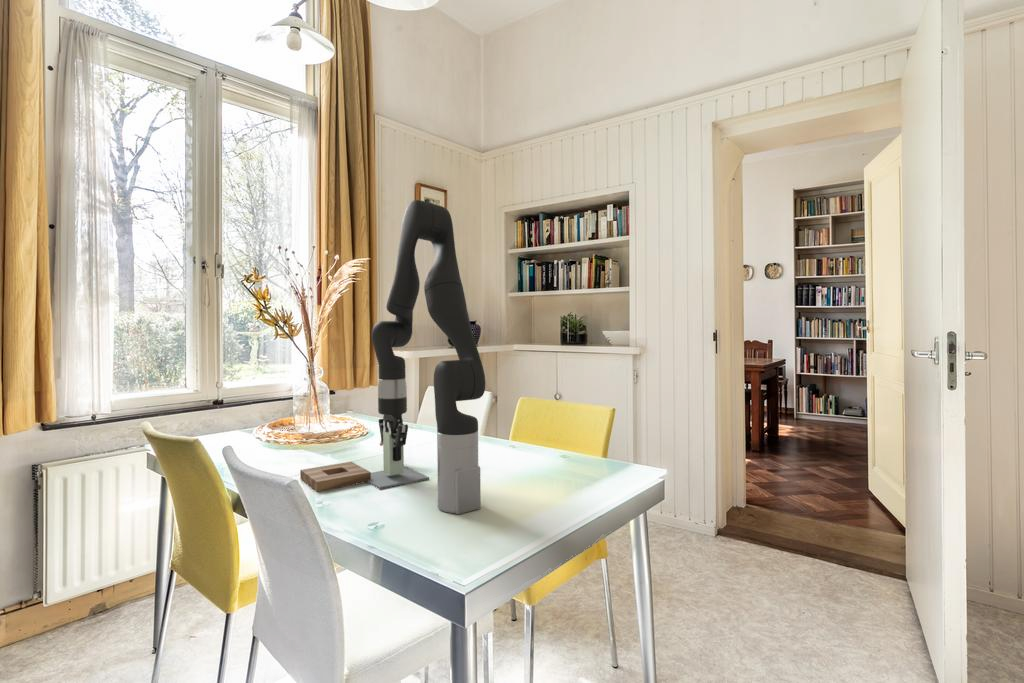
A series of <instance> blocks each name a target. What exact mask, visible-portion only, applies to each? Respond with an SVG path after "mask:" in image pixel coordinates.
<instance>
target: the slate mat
mask: <svg viewBox="0 0 1024 683" xmlns="http://www.w3.org/2000/svg"><path fill="white" fill-rule="evenodd" d="M427 479H429V480H430V477H429V476H427V475H425V474H423V473H421V472H419V471H417V470H414V469H413V468H410V467H408V466H406V465H404V473H401V474H396V475H391V476H390V475H388V474H386V473H384V469H383V470H379V471H373V472H371V479H370V480H367V482H366V483H368V482H369V483H370V484H369V483H368V484H369V485H371V484H372V485H371V486H373V485H374V486H375V487H374V486H373V487H374V488H376V487H377V488H376V489H378V488H379V489H380V490H384V489H383V488H385V489H389V488H388V487H390V488H393V487H392V486H395V487H398V486H397V485H400V486H402V485H401V484H405V485H408V484H407V483H409V484H413V483H412V482H414V483H417V482H416V481H419V482H423V481H422V480H424V481H428V480H427ZM379 489H378V490H379Z"/></svg>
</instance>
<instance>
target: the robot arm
mask: <svg viewBox="0 0 1024 683" xmlns="http://www.w3.org/2000/svg"><path fill="white" fill-rule="evenodd" d="M399 237H400V238H399V243H398V244H399V245H398V249H397V250H398V251H397V258H396V267H395V272H394V276H393V277H394V278H393V281H392V284H391V287H390V288H391V289H390V291H389V294H388V298H387V301H386V307H385V308H386V311H387V312H388V313H390V314H392V315H394V316H395V319H394V320H391V321H390V320H382V321H377V322H376V323H375V324H374V326H373V327H372V330H371V342H372V346H373V349H374V353H375V357H376V360H377V363H378V364H377V365H378V385H377V396H378V397H377V404H378V405H377V410H378V412H377V413H378V414H379V415H383V417H382V418H379V419H378V425H379V432H380V433H379V434H380V441H381V440H382V441H383V432H389V434H390V438H391V439H392V446H393V461H400V460H401V446H402V445H403V446H406V444H407V443H406V442H407V438H408V430H409V425H408V424H406V423H405V424H404V423H403V422H404V420H403V414H406V413H407V411H408V403H407V402H408V398H407V397H408V396H407V395H408V393H407V392H408V391H407V387H408V386H407V382H406V359H405V358H404V357H403V356H399V355H395V353H394V350H393V348H402V347H405V346H406V345H407V344H409V342H410V341H411V339H412V336H413V322H414V320H413V319H414V317H413V316H414V315H413V314H414V309H415V305H416V302H417V299H418V296H419V293H420V276H419V272H418V268H417V263H416V257H415V256H416V255H415V253H416V252H415V251H416V246H417V245H418V244H417V243H418V240H423V241H426V242H427V241H428V242H431V244H432V247H433V252H434V254H433V255H434V261H433V264H432V266H431V268H430V270H429V272H428V274H427V276H426V278H425V282H424V287H423V290H424V297H425V301H426V308H427V311H428V314H429V316H430V318H431V319H432V321H433V323H435V324H436V325H437V327H438V328H439V330H441V331H442V332H443V333H444V335H446V337H447V338H448V339H449V340H450V342H451V344H452V345H453V346H454V349H455V351H456V354H457V356H458V359H456V360H455V359H453V360H442V361H439V362H438V363H437V364H436V366H435V368H434V372H433V394H434V407H435V412H434V413H435V414H434V415H435V419H436V421H435V422H436V431H437V432H436V435H437V438H436V440H437V441H436V443H437V444H436V445H437V447H436V448H437V454H436V455H437V456H436V457H437V459H436V460H437V508H438V509H439V511H442V512H445V513H452V514H455V515H460V514H465V513H469V512H471V511H472V512H473V511H476V510H479V509H481V508H482V507H481V500H482V499H481V498H482V497H481V495H482V494H481V466H480V465H479V421H478V418H477V417H475V416H473V415H470V414H466V413H463V412H461V411H460V410H459V409H458V406H457V402H462V401H463V402H464V401H472V400H477V399H480V398H482V397H483V396H484V394H485V391H486V376H485V375H486V374H485V370H484V366H483V363H482V360H481V356H480V353H479V350H478V347H477V343H476V340H475V337H474V334H473V331H472V325H471V321H470V316H469V312H468V306H467V301H466V296H465V291H464V287H463V286H464V285H463V283H462V278H461V276H460V275H461V274H460V270H459V269H460V268H459V265H458V264H459V263H458V260H457V259H458V258H457V252H456V244H455V234H454V225H453V220H452V216H451V214H450V212H449V210H448V209H447V208H445V207H444V206H442V205H439V204H435V203H431V202H428V201H426V200H425V201H424V200H419V199H414V200H412V201H411V202H409V204H408V205H407V206H406V209H405V211H404V215H403V218H402V223H401V229H400V236H399ZM395 433H397V434H396V435H393V434H395ZM395 438H396V441H395ZM402 438H403V439H402Z"/></svg>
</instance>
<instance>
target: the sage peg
mask: <svg viewBox="0 0 1024 683" xmlns="http://www.w3.org/2000/svg"><path fill="white" fill-rule="evenodd" d="M396 434H397V433H395V434H393V435H396ZM402 439H403V438H402ZM395 441H396V438H395ZM403 446H404V445H402V446H401V460H400V461H393V446H392V439H391V438H390V434H389V432H383V451H382V453H383V456H382V457H383V458H382V459H383V460H382V461H383V470H384V473H386V474H388V475H390V476H391V475H396V474H401V473H404V467H405V464H404V462H405V455H404V448H405V447H403Z"/></svg>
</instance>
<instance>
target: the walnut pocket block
mask: <svg viewBox="0 0 1024 683" xmlns="http://www.w3.org/2000/svg"><path fill="white" fill-rule="evenodd" d="M299 473H300V480H301V479H302V480H301V481H302V482H304V483H305V482H306V483H307V484H308V485H307V484H306V483H305V484H306V485H307V486H309V487H310V486H311V487H312V488H311V487H310V488H311V489H312V490H313V491H315V490H316V491H317V492H316V491H315V492H316V493H318V491H319V492H322V490H324V491H328V490H327V489H329V490H333V489H332V488H335V489H338V488H337V487H340V488H343V487H342V486H345V487H348V486H347V485H350V486H353V485H352V484H355V485H357V484H356V483H360V484H363V483H362V482H366V483H368V482H367V480H370V479H371V473H372V472H371V471H369V470H368V469H367V468H364V467H361V465H358V464H357V463H355V462H353V461H346V462H340V463H334V464H329V465H328V464H327V465H322V466H315V467H310V468H302V469H300V472H299Z"/></svg>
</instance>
